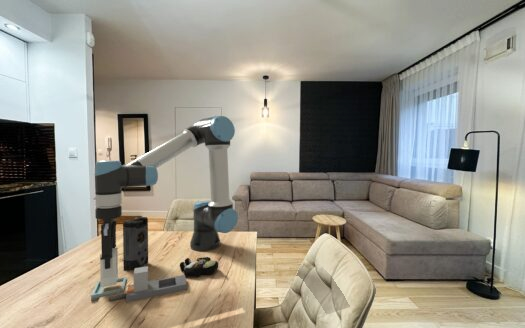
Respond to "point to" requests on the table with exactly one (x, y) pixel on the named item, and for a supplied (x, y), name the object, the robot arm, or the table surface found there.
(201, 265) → the toy
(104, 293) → the tray
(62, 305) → the table surface
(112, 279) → the charger
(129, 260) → the electronic device
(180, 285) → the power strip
